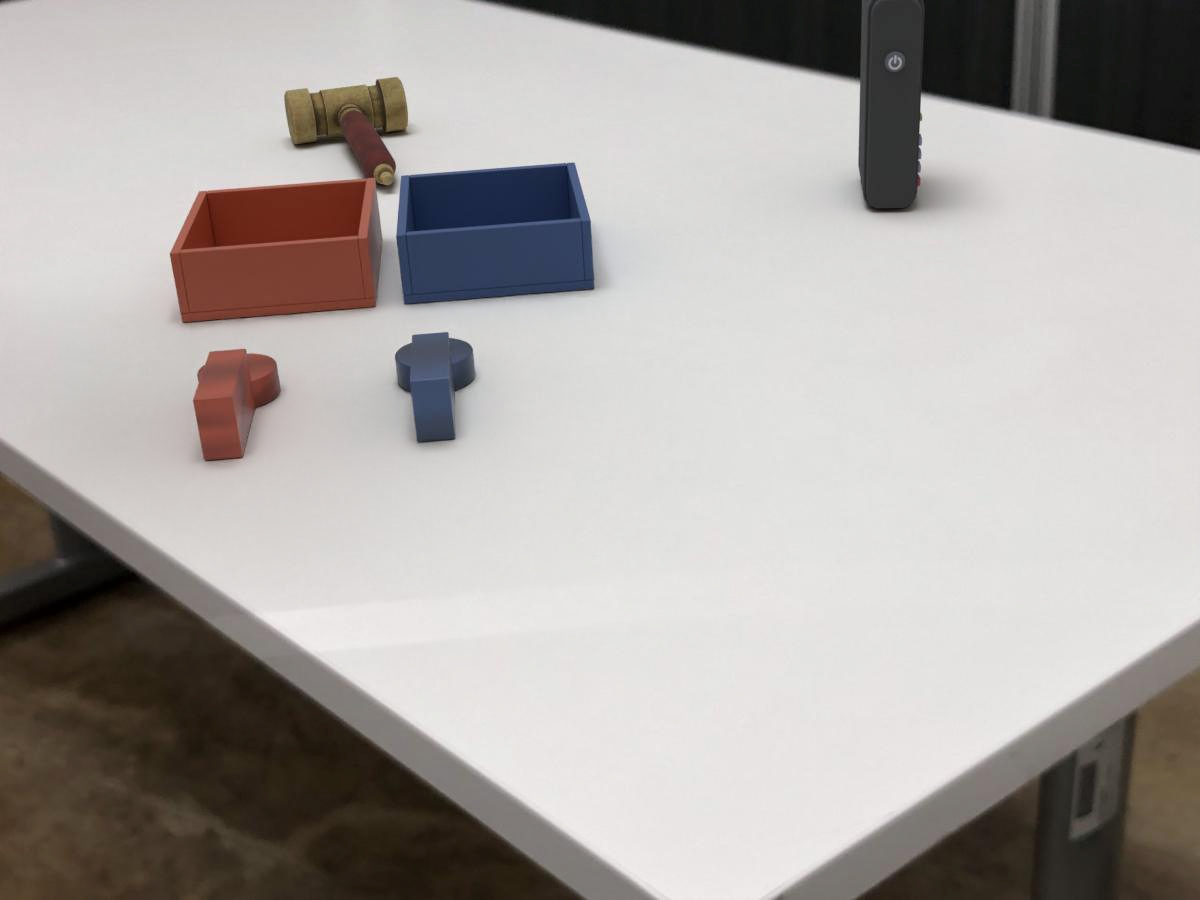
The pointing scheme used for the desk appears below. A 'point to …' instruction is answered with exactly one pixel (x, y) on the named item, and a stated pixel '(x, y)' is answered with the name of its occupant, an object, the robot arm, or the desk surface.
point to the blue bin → (493, 233)
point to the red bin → (279, 250)
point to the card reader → (890, 101)
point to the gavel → (352, 120)
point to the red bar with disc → (231, 399)
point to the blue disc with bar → (434, 380)
